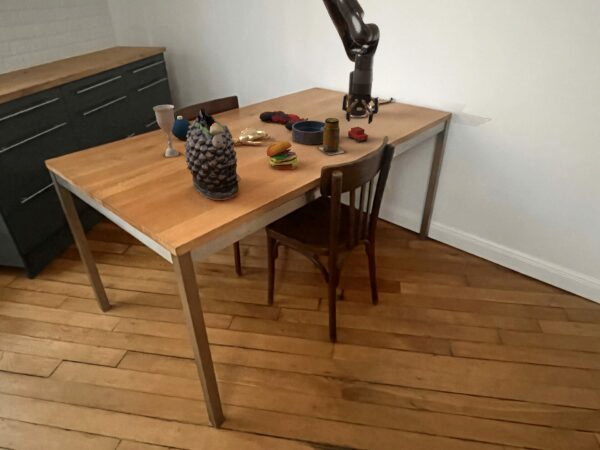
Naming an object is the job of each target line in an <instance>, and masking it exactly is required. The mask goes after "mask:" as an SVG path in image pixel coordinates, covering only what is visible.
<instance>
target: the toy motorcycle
mask: <svg viewBox="0 0 600 450" xmlns="http://www.w3.org/2000/svg"><path fill="white" fill-rule="evenodd" d="M259 119H260V121H262V122H265V123H266V122H267V123H268V122H275V123H277V124H282V125H284V127H285V129H286V130H289V131H292V125H293V124H294V123H296V122H300V121H309V117H307V118H304V117H303V118H301V117H300V116H298V115H297V114H293V113H285V112H284V111H282V110H274V111H264V112H261V113H260V114H259Z"/></svg>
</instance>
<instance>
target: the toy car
mask: <svg viewBox="0 0 600 450" xmlns="http://www.w3.org/2000/svg"><path fill="white" fill-rule="evenodd" d="M347 137H348V138H349V139H352V138H353V139H355V141H356V143H360V142H361V141H364V142H365V141H368V140H369V134H367V133H365V129H364V128H362V127H361V126H354V127H350V130H348V131H347Z"/></svg>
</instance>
